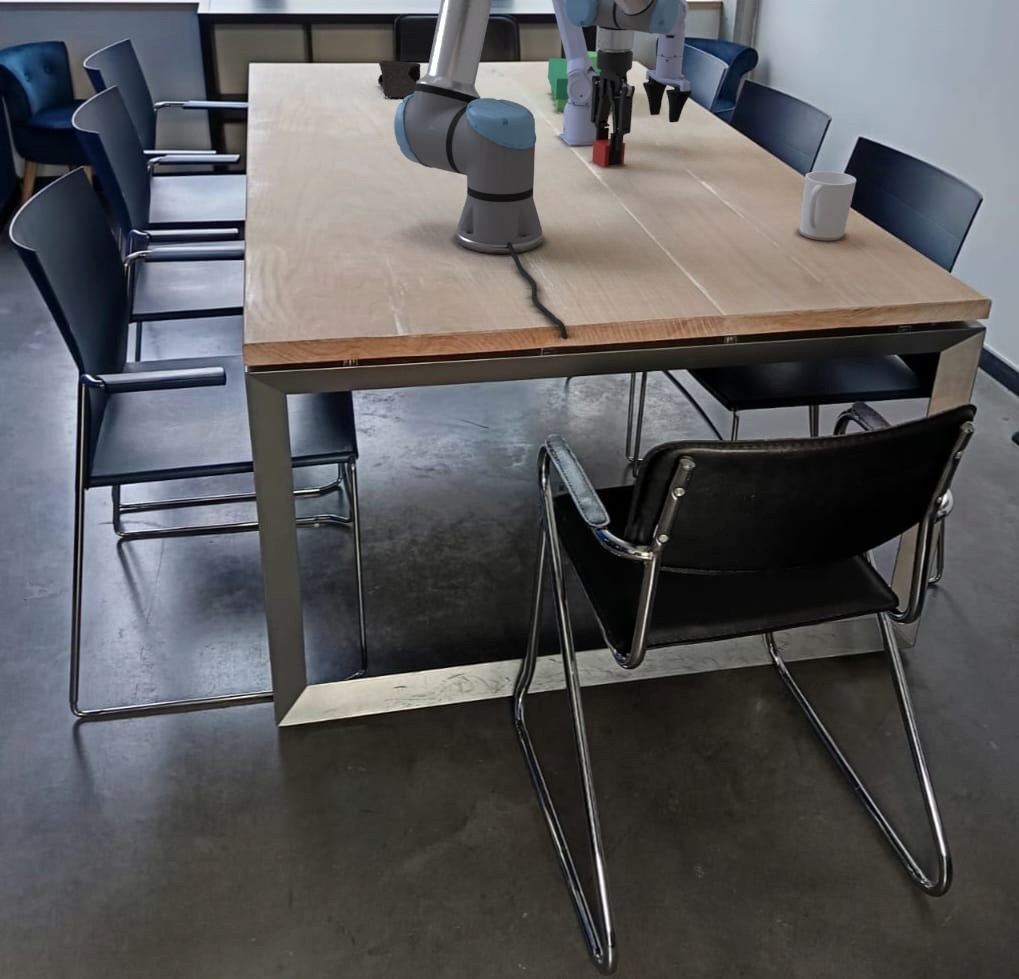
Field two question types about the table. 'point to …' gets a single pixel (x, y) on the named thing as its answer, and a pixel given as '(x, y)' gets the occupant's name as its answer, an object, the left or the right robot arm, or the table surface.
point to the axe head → (398, 78)
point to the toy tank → (564, 79)
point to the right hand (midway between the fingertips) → (664, 118)
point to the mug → (826, 204)
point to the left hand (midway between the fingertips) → (607, 161)
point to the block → (604, 152)
